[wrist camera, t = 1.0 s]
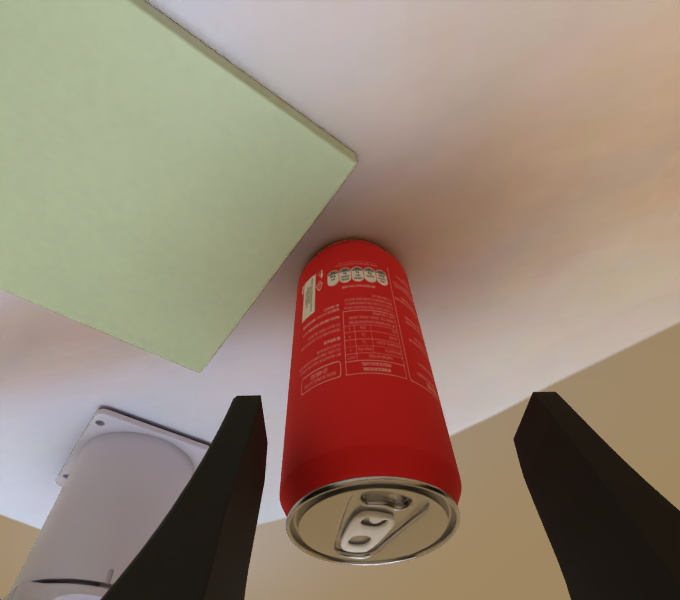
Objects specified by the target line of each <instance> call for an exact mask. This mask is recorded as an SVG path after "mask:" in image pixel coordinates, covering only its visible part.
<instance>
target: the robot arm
mask: <svg viewBox="0 0 680 600" xmlns="http://www.w3.org/2000/svg"><path fill="white" fill-rule="evenodd" d="M514 443H515V447H516V451H517V454H518V458H519V462H520V466H521V469H522V473H523V476H524V479H525V481H526V484H527V486H528V489H529V491H530V494H531V496H532V499H533V501H534V504H535V506H536V509H537V511H538V514H539V516H540V518H541V521H542V523H543V526H544V528H545V531H546V533H547V536H548V538H549V540H550V543H551V545H552V548H553V550H554V553H555V555H556V557H557V560H558V562H559V565H560V568H561V571H562V573H563V576H564V579H565V581H566V584H567V588H568V591H569V594H570V597H571V600H680V511H679V510H678V509H677V508H676V507H674V506H673V505H672V504H671V503H670V502H669V501H668V500H667V499H666V498H664V497H663V496H662V495H661V494H660V493H659V492H658V491H657V490H655V489H654V488H653V487H652V486H651V485H650V484H648V482H646V481H645V480H644V479H643V478H642V477H641V476H640V475H639V474H638V473H637V472H636V471H635V470H634V469H632V468H631V467H630V466H629V465H628V464H627V463H626V462H625V461H624V460H623V459H622V458H621V457H620V456H619V455H618V454H617V453H616V452H615V451H614V450H613V449H612V448H611V447H610V446H609V445H608V444H607V443H606V442H605V441H604V440H603V439H602V438H601V437H600V436H599V435H598V434H597V433H596V432H595V431H594V430H593V429H592V428H591V427H590V426H589V425H588V424H587V423H586V422H585V421H584V420H583V419H582V418H581V417H580V416H579V415H578V414H577V413H576V412H575V411H574V410H573V409H572V408H571V407H570V406H569V405H568V404H567V403H566V402H565V401H564V400H563V399H562V398H561V397H560V396H559V395H558V394H557V393H556V392H533V393H532V396H531V398H530V401H529V403H528V405H527V408H526V410H525V413H524V415H523V418H522V420H521V423H520V425H519V427H518V430H517V432H516V434H515V437H514ZM266 456H267V436H266V429H265V422H264V415H263V408H262V402H261V395H258V396H236V397H235V398H234V399H233V401H232V403H231V406H230V408H229V410H228V412H227V414H226V416H225V418H224V420H223V422H222V424H221V426H220V428H219V430H218V432H217V434H216V436H215V438H214V439H213V441H212V443H211V445H210V446H208V445H205V444H202V443H200V442H197V441H194V440H191V439H188V438H186V437H183V436H180V435H177V434H175V433H172V432H169V431H166V430H163V429H161V428H158V427H155V426H152V425H149V424H147V423H144V422H141V421H138V420H136V419H133V418H130V417H127V416H124V415H122V414H119V413H116V412H113V411H111V410H108V409H99V410H97V411H96V413H95V415H94V416H93V418H92V420H91V421H90V423H89V425H88V426H87V428H86V430H85V431H84V433H83V435H82V436H81V438H80V440H79V441H78V443H77V445H76V446H75V448H74V450H73V452H72V453H71V455H70V457H69V458H68V460H67V462H66V463H65V465H64V467H63V468H62V470H61V472H60V473H59V475H58V477H57V479H56V481H55V482H56V483H57V484H58V485H60V486H63V488H62V490H61V492H60V494H59V496H58V498H57V500H56V502H55V504H54V506H53V508H52V510H51V512H50V514H49V515H48V517H47V519H46V521H45V523H44V525H43V527H42V529H41V531H40V534H39V535H38V537H37V539H36V541H35V543H34V545H33V547H32V549H31V551H30V553H29V555H28V557H27V559H26V561H25V563H24V565H23V567H22V569H21V571H20V573H19V575H18V576H17V578H16V580H15V583H14V584H13V586H12V588H11V590H10V592H9V593H8V594H7V595H6V596H5V597H4V598H3V599H0V600H244V597H245V588H246V581H247V575H248V568H249V563H250V557H251V552H252V547H253V541H254V536H255V531H256V525H257V520H258V514H259V509H260V503H261V498H262V492H263V487H264V480H265V469H266Z"/></svg>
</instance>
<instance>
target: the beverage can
mask: <svg viewBox="0 0 680 600" xmlns="http://www.w3.org/2000/svg"><path fill="white" fill-rule="evenodd" d="M460 495H461V480H460V476H459V472H458V468H457V464H456V460H455V457H454V453H453V450H452V445H451V442H450V438H449V434H448V430H447V426H446V423H445V419H444V415H443V411H442V407H441V404H440V400H439V396H438V392H437V389H436V385H435V381H434V377H433V373H432V370H431V366H430V362H429V358H428V355H427V351H426V347H425V343H424V339H423V336H422V332H421V328H420V324H419V320H418V317H417V313H416V309H415V305H414V302H413V298H412V294H411V290H410V286H409V283H408V279H407V276H406V273H405V271H404V269H403V267H402V266H401V264H400V263H399V262H398V261H397V260H396V259H395V258H394V257H393V256H392V255H390V254H389V253H388V252H386V251H385V250H384V249H383V248H381V247H380V246H378V245H376V244H374V243H372V242H369V241H365V240H360V239H347V240H341V241H338V242H335V243H332V244H330V245H328V246H326V247H325V248H323V249H322V250H321V251H319V252H318V253H317V254H316V256H315V257H314V258H313V259H312V260H311V261H310V262H309V263H308V264H307V266H306V267H305V268H304V270H303V272H302V274H301V276H300V279H299V282H298V289H297V301H296V312H295V324H294V335H293V346H292V358H291V369H290V381H289V392H288V403H287V415H286V426H285V438H284V449H283V461H282V472H281V483H280V502H281V506H282V508H283V510H284V512H285V514H286V516H287V520H286V530H287V534H288V536H289V538H290V540H291V541H292V542H293V544H294V545H295V546H297V547H298V548H299V549H300V550H302V551H303V552H305V553H307V554H309V555H311V556H313V557H316V558H318V559H321V560H325V561H328V562H332V563H338V564H344V565H357V566H373V565H385V564H393V563H398V562H403V561H407V560H411V559H416V558H419V557H421V556H423V555H426V554H428V553H430V552H432V551H433V550H436V549H437V548H439V547H441V546H442V545H443V544H445V543H446V542H447V541H448V540H449V539H450V538H451V537H452V536H453V535H454V534H455V532H456V531H457V529H458V527H459V523H460V512H459V509H458V506H457V505H458V502H459V499H460Z"/></svg>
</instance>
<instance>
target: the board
mask: <svg viewBox="0 0 680 600" xmlns="http://www.w3.org/2000/svg"><path fill="white" fill-rule="evenodd" d="M356 165H357V160H356V154H355V153H354V152H353V151H351V150H350V149H348V148H347V147H346V146H344V145H343V144H342V143H340V142H339V141H337V140H336V139H335V138H333V137H332V136H330V135H329V134H328V133H326V132H325V131H324V130H322V129H321V128H319V127H318V126H317V125H315V124H314V123H313V122H311V121H310V120H308V119H307V118H306V117H304V116H303V115H302V114H300V113H299V112H297V111H296V110H295V109H293V108H292V107H290V106H289V105H288V104H286V103H285V102H284V101H282V100H281V99H279V98H278V97H277V96H275V95H274V94H273V93H271V92H270V91H268V90H267V89H266V88H264V87H263V86H262V85H260V84H259V83H257V82H256V81H255V80H253V79H252V78H251V77H249V76H248V75H246V74H245V73H244V72H242V71H241V70H239V69H238V68H237V67H235V66H234V65H233V64H231V63H230V62H228V61H227V60H226V59H224V58H223V57H222V56H220V55H219V54H217V53H216V52H215V51H213V50H212V49H211V48H209V47H208V46H206V45H205V44H204V43H202V42H201V41H199V40H198V39H197V38H195V37H194V36H193V35H191V34H190V33H188V32H187V31H186V30H184V29H183V28H182V27H180V26H179V25H177V24H176V23H175V22H173V21H172V20H171V19H169V18H168V17H166V16H165V15H164V14H162V13H161V12H159V11H158V10H157V9H155V8H154V7H153V6H151V5H150V4H148V3H147V2H146V1H144V0H0V289H2V290H4V291H7V292H9V293H11V294H14V295H16V296H18V297H21V298H23V299H26V300H28V301H30V302H33V303H35V304H37V305H40V306H42V307H45V308H47V309H49V310H52V311H54V312H56V313H59V314H61V315H63V316H66V317H68V318H71V319H73V320H75V321H78V322H80V323H82V324H85V325H87V326H89V327H92V328H94V329H97V330H99V331H101V332H104V333H106V334H108V335H111V336H113V337H116V338H118V339H120V340H123V341H125V342H127V343H130V344H132V345H134V346H137V347H139V348H142V349H144V350H146V351H149V352H151V353H153V354H156V355H158V356H160V357H163V358H165V359H168V360H170V361H172V362H175V363H177V364H179V365H182V366H184V367H187V368H189V369H191V370H194V371H196V372H198V373H201V372H202V370H203V369H204V368H205V366H206V365H207V364H208V362H209V361H210V360H211V358H212V357H213V356H214V354H215V353H216V352H217V350H218V349H219V348H220V346H221V345H222V344H223V342H224V341H225V340H226V338H227V337H228V336H229V334H230V333H231V332H232V330H233V329H234V328H235V326H236V325H237V324H238V322H239V321H240V320H241V318H242V317H243V316H244V315H245V313H246V312H247V311H248V309H249V308H250V307H251V305H252V304H253V303H254V301H255V300H256V299H257V297H258V296H259V295H260V293H261V292H262V291H263V289H264V288H265V287H266V285H267V284H268V283H269V281H270V280H271V279H272V277H273V276H274V275H275V273H276V272H277V271H278V269H279V268H280V267H281V265H282V264H283V263H284V261H285V260H286V259H287V257H288V256H289V255H290V253H291V252H292V251H293V249H294V248H295V247H296V245H297V244H298V243H299V241H300V240H301V239H302V237H303V236H304V235H305V233H306V232H307V231H308V229H309V228H310V227H311V225H312V224H313V223H314V221H315V220H316V219H317V217H318V216H319V215H320V213H321V212H322V211H323V209H324V208H325V207H326V205H327V204H328V203H329V201H330V200H331V199H332V197H333V196H334V195H335V193H336V192H337V191H338V189H339V188H340V187H341V185H342V184H343V183H344V181H345V180H346V179H347V177H348V176H349V175H350V173H351V172H352V171H353V169H354V168H355V167H356Z"/></svg>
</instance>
